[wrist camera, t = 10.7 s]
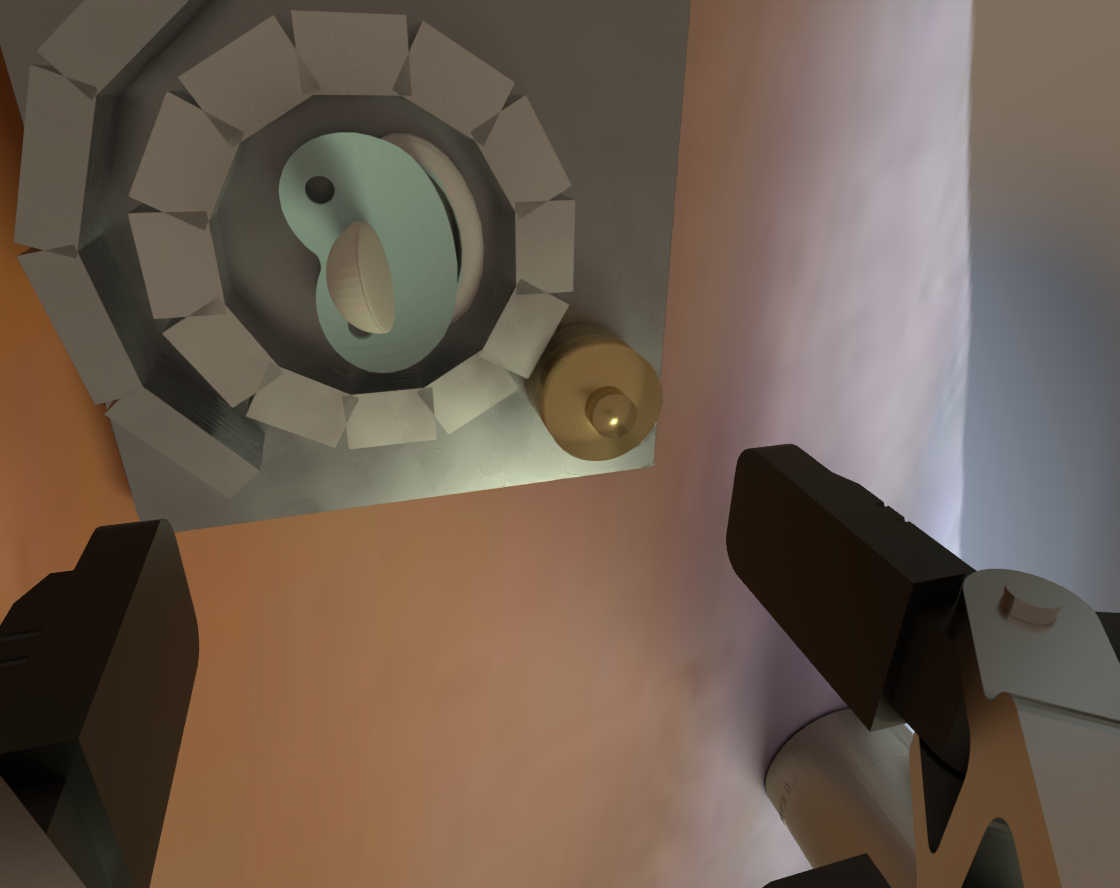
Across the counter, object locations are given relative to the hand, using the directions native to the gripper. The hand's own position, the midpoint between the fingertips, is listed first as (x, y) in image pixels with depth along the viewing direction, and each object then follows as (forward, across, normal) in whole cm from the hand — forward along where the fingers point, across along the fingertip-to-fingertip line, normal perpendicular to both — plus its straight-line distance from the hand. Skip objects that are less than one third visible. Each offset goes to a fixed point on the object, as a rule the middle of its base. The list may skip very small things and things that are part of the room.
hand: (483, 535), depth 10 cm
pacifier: (+17, 0, -1) cm, 17 cm away
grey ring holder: (+18, 0, 0) cm, 18 cm away
